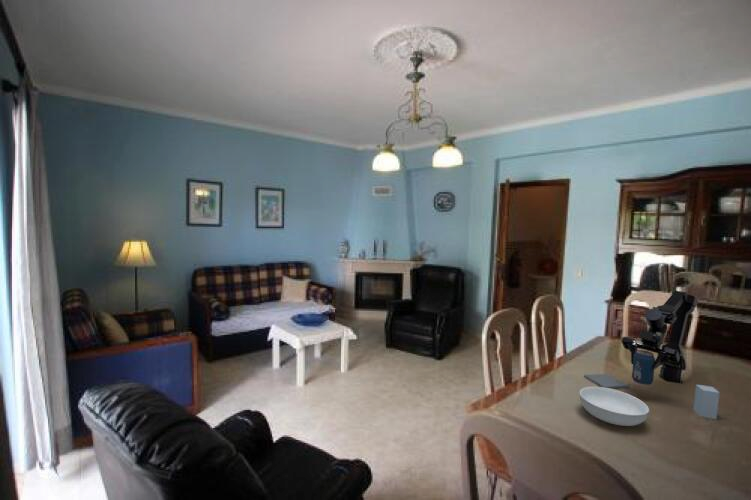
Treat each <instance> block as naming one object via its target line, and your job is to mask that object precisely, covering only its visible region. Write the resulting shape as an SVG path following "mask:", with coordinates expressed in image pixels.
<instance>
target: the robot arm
mask: <svg viewBox="0 0 751 500" xmlns="http://www.w3.org/2000/svg"><path fill="white" fill-rule="evenodd" d="M698 302H699V301H698V299H697V297H696V296H694V295H692V294H690V293H688V292H686V291H680V290H673V291H671V294H670V296H669V298H667V300H666V301H665V302H664V303H663V304H661V305H657V306H652V308H650V309H647V310H646V311H645V312H644V313H643V314H644V315H643V316H644V319H645V322H646V324H647V326H648V329H647V330H644V329H640V332H639V336H638V338H639V339H640V342H641V343H639V342H637V341H636V339H635V338H633V337H628V336H623V337H622V339H621V344H622V346H623V348H624V349H626V350H629V352H630V355H631V356H630V361H631V362H630V363H631V364H632V365H633V358H634V354H635V353H636V351H637V350H643V351H648V352H651V353H655V354H657V357H655V362H654V364H653V366H652V370H654V371H655V370H656V369H657V368H659V367H660V371H659V373H660V374H659V377H660V378H661V379H663V380H664V381H665V382H670V383H671V382H673V383H682V384H683V382H684V381H682V379H681V378H682V371H683V370H686V368H687V365H686V364H687V362H686V359H685V356H684V355H685V353H684V351H683V348H682V343H683V338H684V333H685V330H686V326H687V322H688V317H689V316H690V315H691V314H692V313H694V312H695V308H696V307H697V306H698V304H699V303H698ZM668 325H671V328H670V329H671V330H670V335H669V336H668V342H666V344H664V338H665V336H666V334H667V333H668V329H669V327H668Z"/></svg>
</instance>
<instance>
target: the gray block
mask: <svg viewBox="0 0 751 500" xmlns="http://www.w3.org/2000/svg"><path fill="white" fill-rule="evenodd" d="M694 391H695V393H694V401H693V407H692V408H693V411H694V412H695V414H697V416H698V417H700V418H706V419H712V420H717V417H718V409H719V401H720V392H719V391H718V389H717V388H715V387H714V386H708V385H703V384H701V385H700V384H695V390H694Z"/></svg>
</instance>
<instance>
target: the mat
mask: <svg viewBox="0 0 751 500" xmlns="http://www.w3.org/2000/svg"><path fill="white" fill-rule="evenodd" d="M583 378H585V379H586V380H587V381H589V382H591V383H593V384H595V385H596V386H597V387H604V388H610V389H614V390H618V389H630V385H629V384H627V383H626V382H624V381H621V380H620V379H618V378H617V377H614V376H612V375H611V374H609V373H600V374H599V373H593V374H584V375H583Z"/></svg>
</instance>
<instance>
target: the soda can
mask: <svg viewBox="0 0 751 500" xmlns="http://www.w3.org/2000/svg"><path fill="white" fill-rule="evenodd" d="M655 360H656V357H655V356H654V352H651V351H647V350H644V349H637V351H636V353H635V354H634V358H633V364H632V368H631V369H632V370H631V378H632V379H633V381H634V382H635V383H637V384H640V385H645V386H650V385H652V384H653V382H654V377H655V376H654V375H655V370H652V366H653V364H654V362H655Z"/></svg>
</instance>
